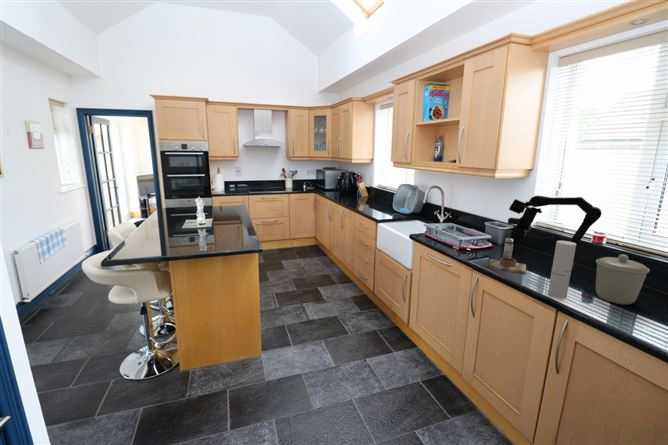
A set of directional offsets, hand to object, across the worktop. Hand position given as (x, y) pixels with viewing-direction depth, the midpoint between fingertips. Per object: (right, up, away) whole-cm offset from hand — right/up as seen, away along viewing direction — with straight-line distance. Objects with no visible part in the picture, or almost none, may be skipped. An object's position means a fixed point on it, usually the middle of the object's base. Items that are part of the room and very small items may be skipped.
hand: (515, 242), depth 186 cm
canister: (+23, -24, -39) cm, 51 cm away
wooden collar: (-4, -13, 0) cm, 14 cm away
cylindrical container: (-1, -22, -35) cm, 42 cm away
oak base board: (-4, -14, +1) cm, 15 cm away
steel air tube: (+1, -12, +11) cm, 17 cm away
